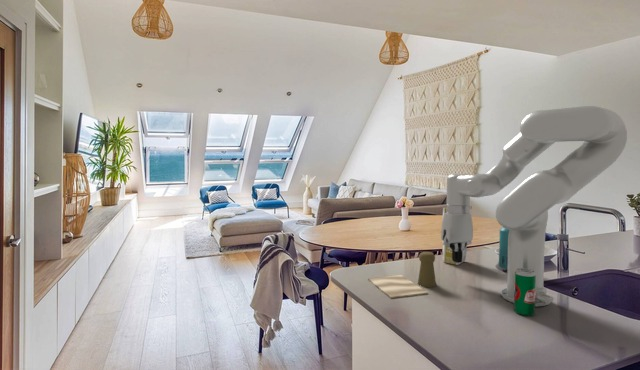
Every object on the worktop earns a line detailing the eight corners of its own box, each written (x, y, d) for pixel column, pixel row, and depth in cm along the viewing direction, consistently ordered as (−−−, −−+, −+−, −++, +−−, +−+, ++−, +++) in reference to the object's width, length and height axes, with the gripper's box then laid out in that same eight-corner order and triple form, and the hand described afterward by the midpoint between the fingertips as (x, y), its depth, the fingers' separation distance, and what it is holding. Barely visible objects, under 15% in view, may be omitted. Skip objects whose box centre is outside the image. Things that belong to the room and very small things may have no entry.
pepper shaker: (437, 287, 118) (437, 255, 117) (418, 286, 119) (418, 254, 118) (435, 281, 124) (435, 250, 123) (417, 280, 125) (417, 250, 124)
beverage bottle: (499, 272, 132) (500, 219, 131) (497, 267, 139) (498, 216, 137) (518, 274, 130) (520, 220, 129) (516, 268, 136) (517, 217, 135)
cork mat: (427, 293, 112) (428, 292, 112) (390, 298, 109) (390, 296, 109) (401, 276, 130) (401, 274, 130) (368, 279, 126) (368, 278, 126)
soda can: (527, 318, 94) (528, 274, 93) (509, 311, 98) (510, 269, 98) (539, 314, 96) (540, 271, 96) (521, 307, 101) (522, 266, 100)
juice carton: (449, 257, 153) (450, 202, 151) (468, 261, 147) (468, 204, 146) (440, 262, 146) (440, 205, 145) (459, 266, 141) (459, 206, 139)
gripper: (469, 207, 128) (468, 257, 129) (432, 209, 124) (432, 260, 126) (483, 210, 121) (482, 262, 122) (445, 212, 117) (444, 266, 118)
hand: (457, 261), depth 124 cm, fingers closed
